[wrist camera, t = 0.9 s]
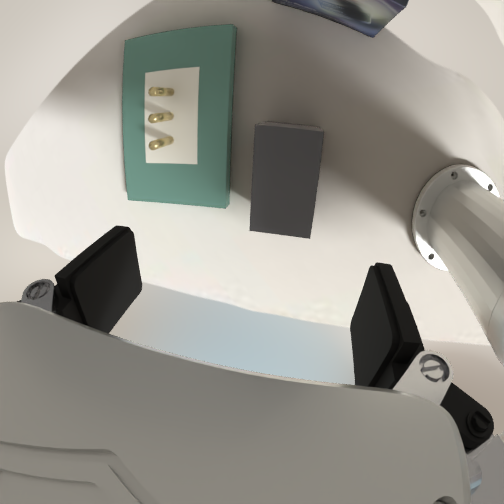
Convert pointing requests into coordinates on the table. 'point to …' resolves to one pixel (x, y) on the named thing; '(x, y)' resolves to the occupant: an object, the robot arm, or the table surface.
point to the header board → (180, 115)
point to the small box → (352, 12)
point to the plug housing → (285, 178)
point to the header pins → (160, 117)
